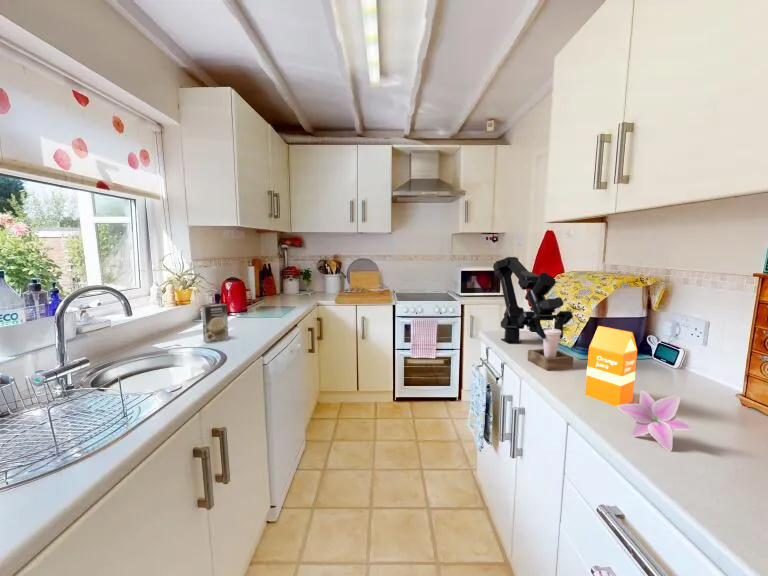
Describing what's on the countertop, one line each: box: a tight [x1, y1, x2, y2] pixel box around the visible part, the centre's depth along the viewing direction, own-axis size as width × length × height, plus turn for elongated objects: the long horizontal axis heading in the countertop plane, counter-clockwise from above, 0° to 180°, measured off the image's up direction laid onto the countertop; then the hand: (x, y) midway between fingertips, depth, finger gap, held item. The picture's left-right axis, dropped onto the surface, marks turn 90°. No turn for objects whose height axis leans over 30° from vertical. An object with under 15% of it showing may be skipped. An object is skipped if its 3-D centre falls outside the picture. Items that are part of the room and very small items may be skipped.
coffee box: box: [201, 303, 229, 344], centre depth 149 cm, size 9×6×16 cm
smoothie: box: [542, 318, 561, 358], centre depth 119 cm, size 6×6×14 cm
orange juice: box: [584, 325, 638, 408], centre depth 92 cm, size 8×9×20 cm
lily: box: [616, 389, 694, 452], centre depth 74 cm, size 12×12×10 cm
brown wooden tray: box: [527, 348, 574, 371], centre depth 120 cm, size 10×10×4 cm
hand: (553, 338), depth 118 cm, fingers closed on smoothie, 6 cm apart
